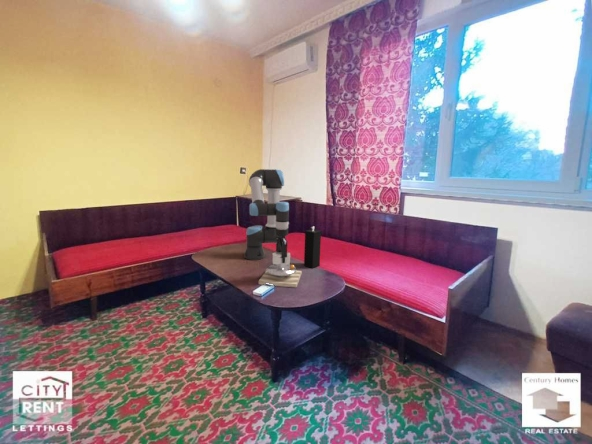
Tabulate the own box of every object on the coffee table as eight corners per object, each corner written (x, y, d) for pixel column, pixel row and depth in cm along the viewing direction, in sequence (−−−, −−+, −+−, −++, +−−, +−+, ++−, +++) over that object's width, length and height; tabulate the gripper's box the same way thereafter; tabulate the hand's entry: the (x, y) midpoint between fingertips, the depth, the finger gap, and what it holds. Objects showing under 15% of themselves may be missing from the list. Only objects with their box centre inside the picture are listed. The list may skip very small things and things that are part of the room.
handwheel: (264, 275, 168) (264, 257, 166) (268, 264, 185) (268, 248, 183) (295, 276, 167) (295, 258, 165) (296, 266, 185) (297, 249, 183)
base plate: (267, 271, 189) (267, 263, 188) (301, 273, 186) (301, 266, 185) (258, 284, 168) (258, 276, 167) (296, 287, 165) (296, 279, 164)
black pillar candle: (303, 265, 202) (305, 226, 197) (311, 263, 208) (312, 224, 202) (312, 268, 197) (314, 227, 191) (319, 265, 202) (321, 226, 197)
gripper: (293, 231, 164) (292, 270, 168) (282, 224, 181) (281, 260, 186) (281, 232, 161) (280, 271, 166) (271, 225, 179) (270, 261, 183)
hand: (281, 265), depth 176 cm, fingers closed on handwheel, 6 cm apart
